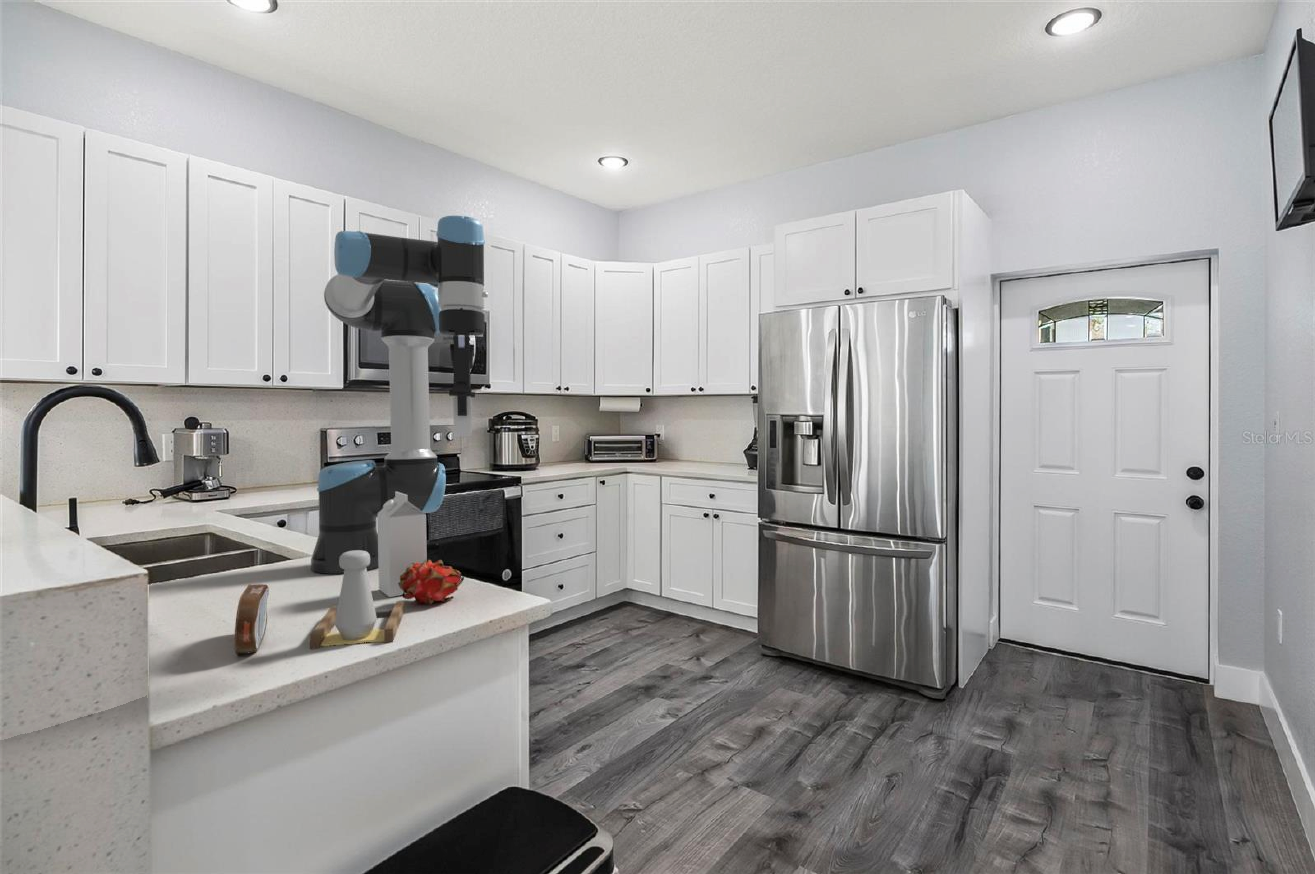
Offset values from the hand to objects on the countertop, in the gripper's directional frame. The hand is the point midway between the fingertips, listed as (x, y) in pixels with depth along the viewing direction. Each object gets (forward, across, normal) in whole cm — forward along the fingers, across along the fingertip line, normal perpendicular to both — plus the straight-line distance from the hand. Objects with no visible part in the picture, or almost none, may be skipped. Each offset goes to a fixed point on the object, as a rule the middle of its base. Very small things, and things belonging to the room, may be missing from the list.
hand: (463, 435), depth 115 cm
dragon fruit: (+31, +8, +6) cm, 32 cm away
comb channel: (+31, -6, +16) cm, 35 cm away
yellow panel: (+31, -10, +16) cm, 36 cm away
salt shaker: (+30, -10, +16) cm, 36 cm away
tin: (+31, -8, +30) cm, 44 cm away
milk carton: (+31, +17, +12) cm, 37 cm away
